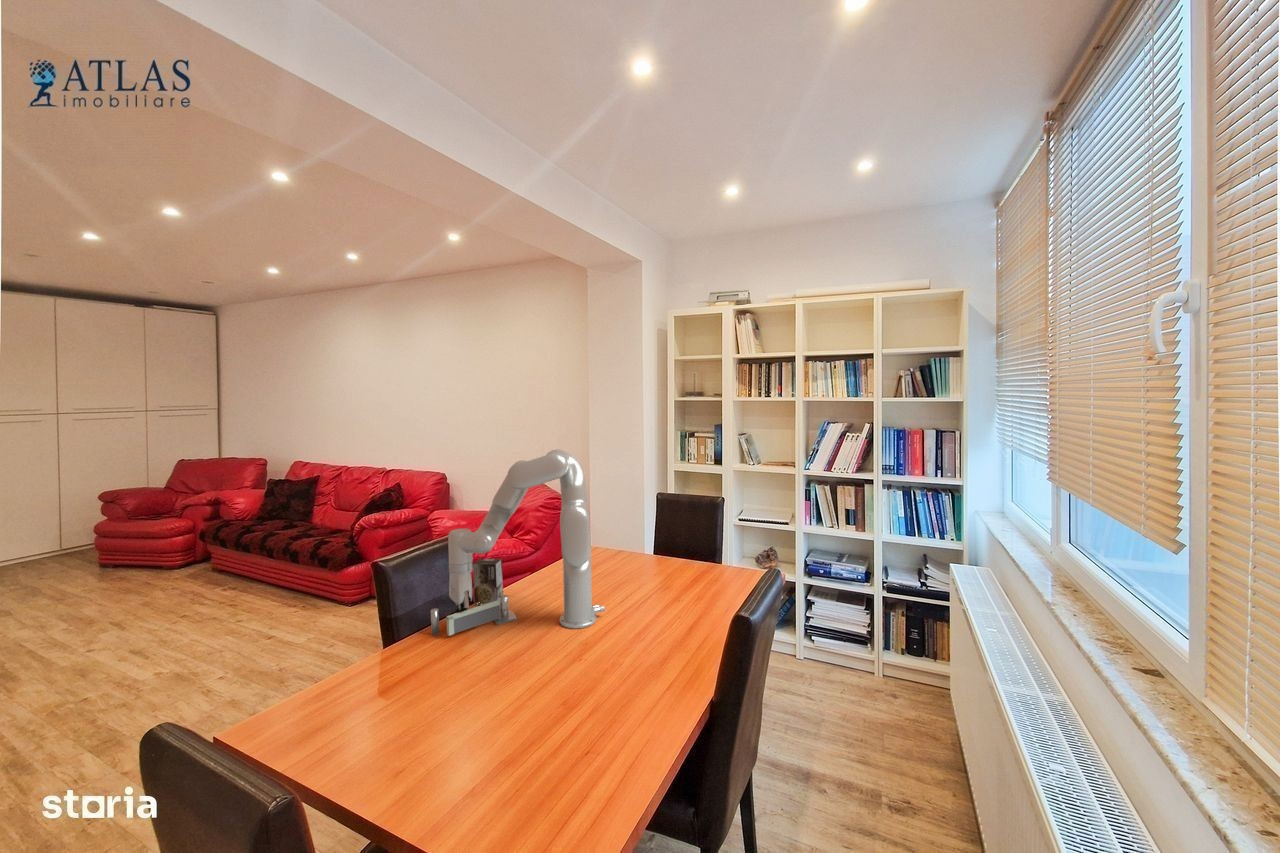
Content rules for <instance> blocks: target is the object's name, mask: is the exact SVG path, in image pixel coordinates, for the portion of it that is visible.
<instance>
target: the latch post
mask: <svg viewBox="0 0 1280 853" xmlns="http://www.w3.org/2000/svg"><path fill="white" fill-rule="evenodd" d="M439 614H440V612H439V608H438V607H437V608H436V607H435V608H432V609H431V610H430V628H431V631H430V632H431V636H437V635H440V616H439Z"/></svg>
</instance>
